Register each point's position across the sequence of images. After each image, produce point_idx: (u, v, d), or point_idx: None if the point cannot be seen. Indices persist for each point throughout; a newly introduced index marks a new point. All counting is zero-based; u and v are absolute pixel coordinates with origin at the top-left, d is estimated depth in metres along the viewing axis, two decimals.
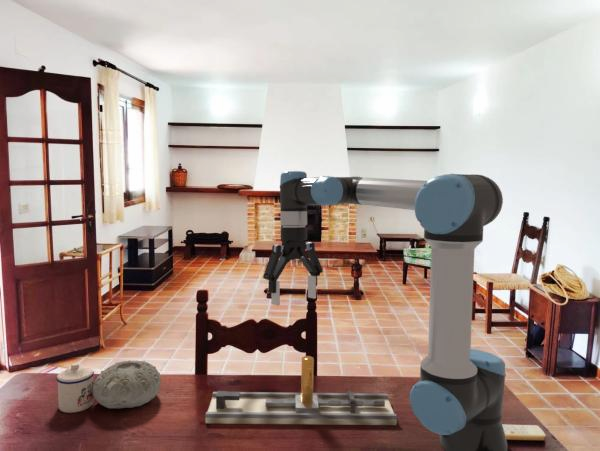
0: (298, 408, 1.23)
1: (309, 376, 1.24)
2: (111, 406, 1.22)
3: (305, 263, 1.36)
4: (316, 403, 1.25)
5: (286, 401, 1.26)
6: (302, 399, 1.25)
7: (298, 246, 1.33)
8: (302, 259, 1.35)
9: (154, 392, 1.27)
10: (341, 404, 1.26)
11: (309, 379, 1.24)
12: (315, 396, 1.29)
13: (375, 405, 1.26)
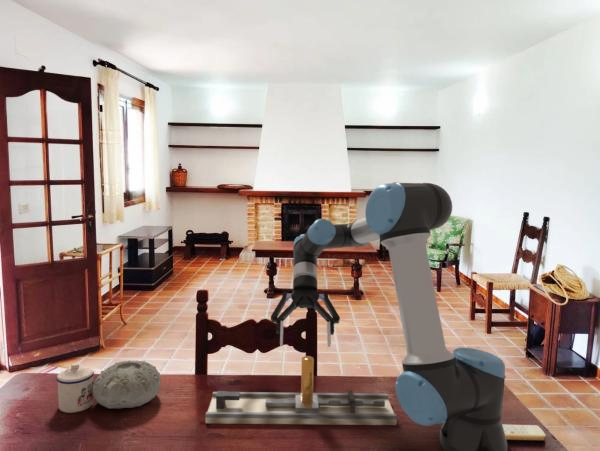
0: (298, 408, 1.23)
1: (309, 376, 1.24)
2: (111, 406, 1.22)
3: (319, 311, 1.40)
4: (316, 403, 1.25)
5: (286, 401, 1.26)
6: (302, 399, 1.25)
7: (307, 294, 1.42)
8: (315, 307, 1.41)
9: (154, 392, 1.27)
10: (341, 404, 1.26)
11: (309, 379, 1.24)
12: (315, 396, 1.29)
13: (375, 405, 1.26)
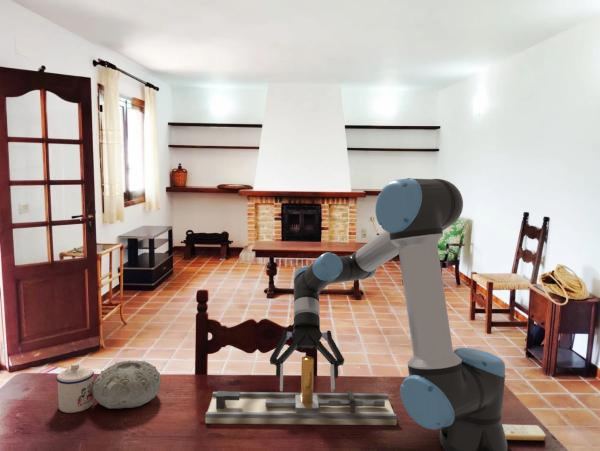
0: (298, 408, 1.23)
1: (309, 376, 1.24)
2: (111, 406, 1.22)
3: (322, 352, 1.30)
4: (316, 403, 1.25)
5: (286, 401, 1.26)
6: (302, 399, 1.25)
7: (309, 333, 1.32)
8: (318, 348, 1.31)
9: (154, 392, 1.27)
10: (341, 404, 1.26)
11: (309, 379, 1.24)
12: (315, 396, 1.29)
13: (375, 405, 1.26)
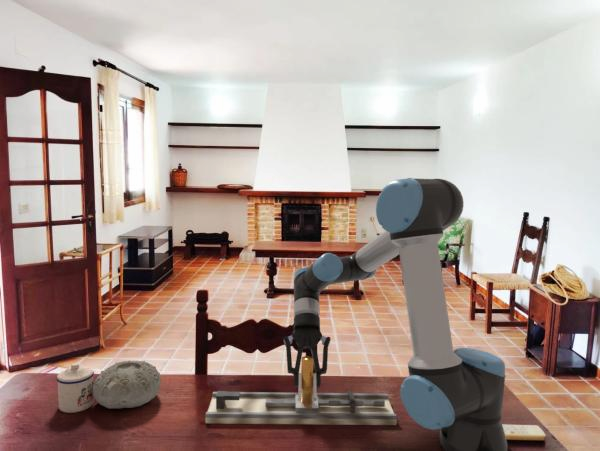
0: (298, 408, 1.23)
1: (309, 376, 1.24)
2: (111, 406, 1.22)
3: (312, 356, 1.29)
4: (316, 403, 1.25)
5: (286, 401, 1.26)
6: (302, 399, 1.25)
7: (311, 329, 1.33)
8: (311, 350, 1.30)
9: (154, 392, 1.27)
10: (341, 404, 1.26)
11: (309, 379, 1.24)
12: None
13: (375, 405, 1.26)
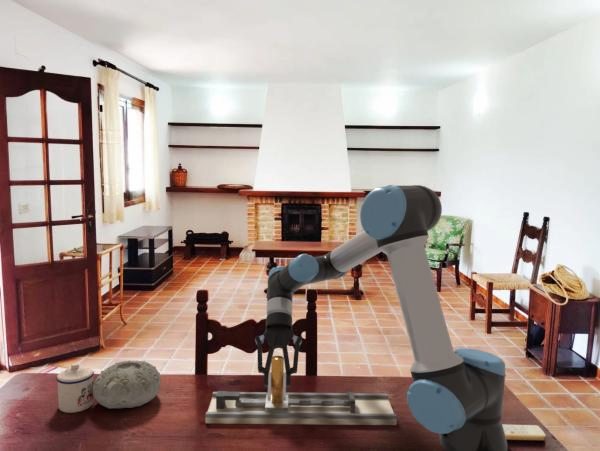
0: (267, 408, 1.23)
1: (278, 376, 1.24)
2: (111, 406, 1.22)
3: (283, 355, 1.29)
4: (286, 403, 1.25)
5: (256, 401, 1.25)
6: (272, 399, 1.25)
7: (282, 329, 1.33)
8: None
9: (154, 392, 1.27)
10: (311, 404, 1.25)
11: (279, 379, 1.24)
12: (286, 396, 1.29)
13: (345, 405, 1.26)
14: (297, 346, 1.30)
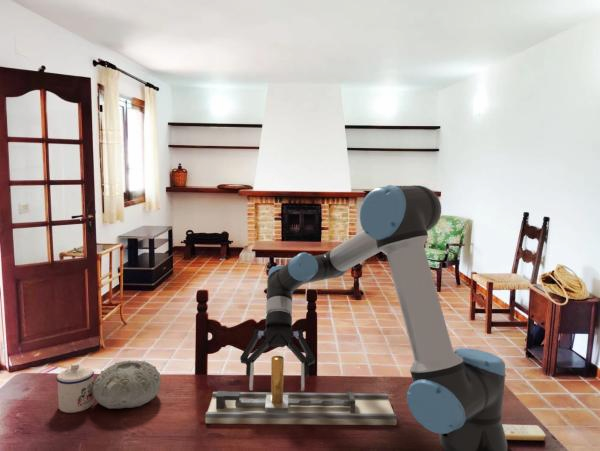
0: (267, 408, 1.23)
1: (278, 376, 1.24)
2: (111, 406, 1.22)
3: (293, 351, 1.30)
4: (286, 403, 1.25)
5: (256, 401, 1.25)
6: (272, 399, 1.25)
7: (281, 331, 1.32)
8: (289, 347, 1.31)
9: (154, 392, 1.27)
10: (311, 404, 1.25)
11: (279, 379, 1.24)
12: (286, 396, 1.29)
13: (345, 405, 1.26)
14: (303, 339, 1.31)
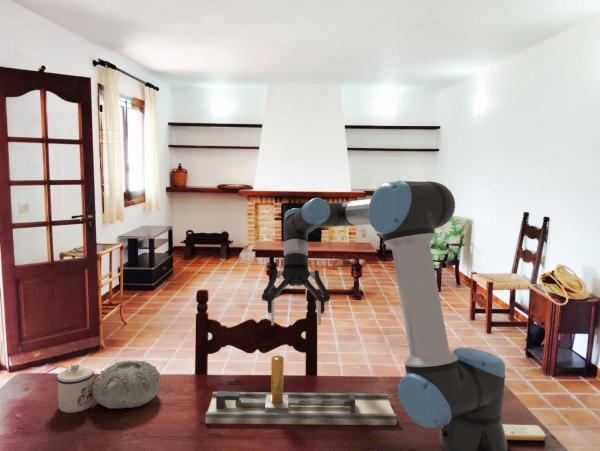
0: (267, 408, 1.23)
1: (278, 376, 1.24)
2: (111, 406, 1.22)
3: (310, 290, 1.41)
4: (286, 403, 1.25)
5: (256, 401, 1.25)
6: (272, 399, 1.25)
7: (298, 272, 1.42)
8: (306, 286, 1.42)
9: (154, 392, 1.27)
10: (311, 404, 1.25)
11: (279, 379, 1.24)
12: (286, 396, 1.29)
13: (345, 405, 1.26)
14: (319, 279, 1.42)
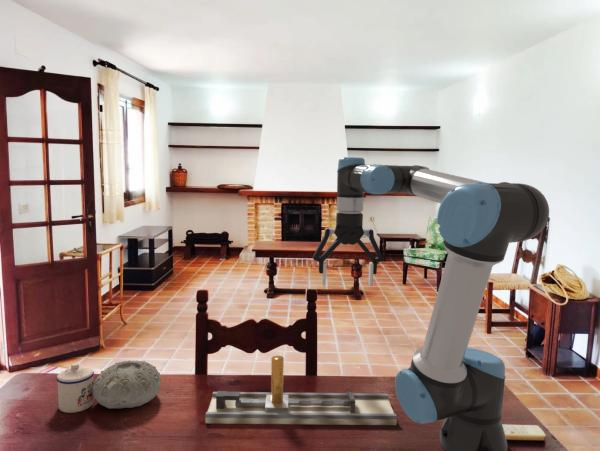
0: (267, 408, 1.23)
1: (278, 376, 1.24)
2: (111, 406, 1.22)
3: (363, 249, 1.35)
4: (286, 403, 1.25)
5: (256, 401, 1.25)
6: (272, 399, 1.25)
7: (352, 232, 1.34)
8: None
9: (154, 392, 1.27)
10: (311, 404, 1.25)
11: (279, 379, 1.24)
12: (286, 396, 1.29)
13: (345, 405, 1.26)
14: (373, 240, 1.34)
